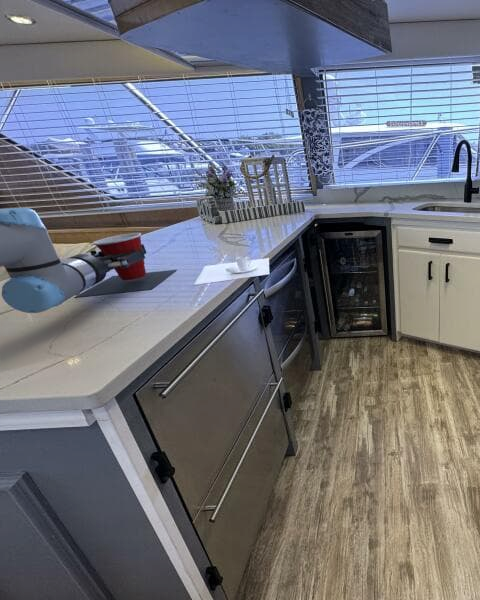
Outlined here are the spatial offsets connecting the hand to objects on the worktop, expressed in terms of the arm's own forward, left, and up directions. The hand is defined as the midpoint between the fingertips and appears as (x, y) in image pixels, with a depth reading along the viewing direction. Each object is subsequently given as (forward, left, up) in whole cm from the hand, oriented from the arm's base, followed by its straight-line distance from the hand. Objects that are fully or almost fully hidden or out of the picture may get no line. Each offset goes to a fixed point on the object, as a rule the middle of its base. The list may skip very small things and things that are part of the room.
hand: (129, 250), depth 95 cm
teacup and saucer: (+28, -3, -9) cm, 29 cm away
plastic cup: (+1, -5, -7) cm, 9 cm away
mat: (0, -5, -8) cm, 10 cm away
